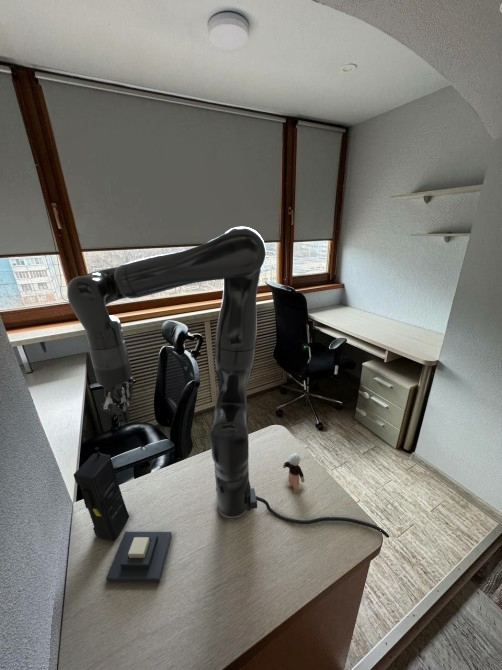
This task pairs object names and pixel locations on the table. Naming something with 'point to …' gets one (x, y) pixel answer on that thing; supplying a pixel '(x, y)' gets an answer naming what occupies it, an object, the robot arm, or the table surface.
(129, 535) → the push button
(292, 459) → the grandmother figurine
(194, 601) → the table surface
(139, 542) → the key
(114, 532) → the portable radio
